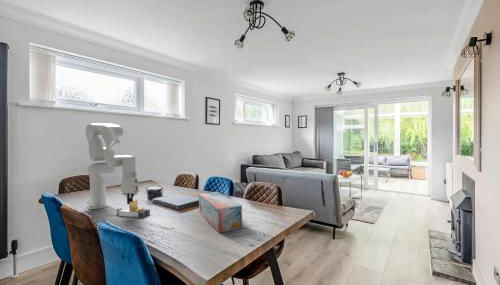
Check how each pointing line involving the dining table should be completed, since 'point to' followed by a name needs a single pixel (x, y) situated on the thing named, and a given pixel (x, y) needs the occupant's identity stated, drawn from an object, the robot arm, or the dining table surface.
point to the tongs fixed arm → (142, 210)
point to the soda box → (220, 211)
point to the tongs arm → (130, 213)
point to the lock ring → (134, 206)
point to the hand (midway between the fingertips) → (130, 203)
